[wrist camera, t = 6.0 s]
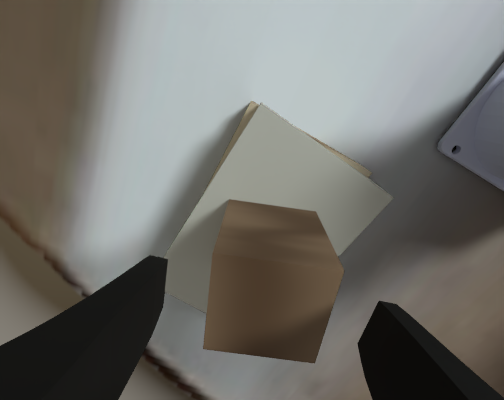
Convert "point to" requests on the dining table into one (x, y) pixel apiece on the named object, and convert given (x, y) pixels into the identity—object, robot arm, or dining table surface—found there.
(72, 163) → the dining table surface
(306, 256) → the walnut block
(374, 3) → the dining table surface
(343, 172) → the slab top
